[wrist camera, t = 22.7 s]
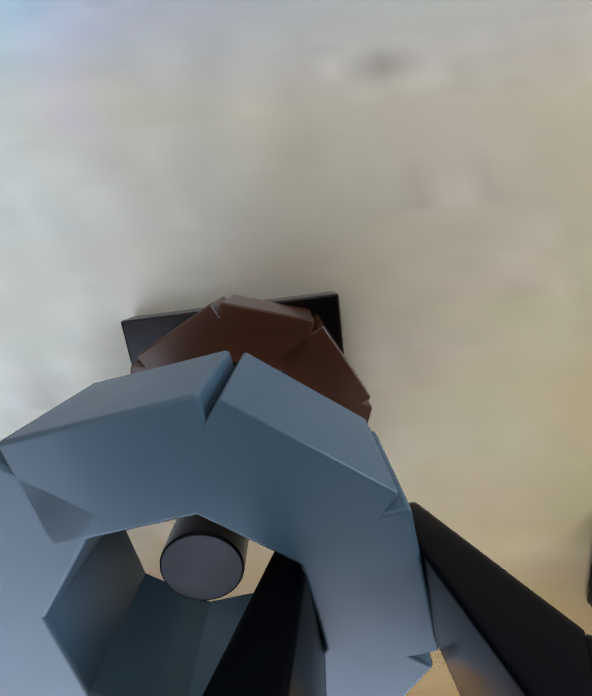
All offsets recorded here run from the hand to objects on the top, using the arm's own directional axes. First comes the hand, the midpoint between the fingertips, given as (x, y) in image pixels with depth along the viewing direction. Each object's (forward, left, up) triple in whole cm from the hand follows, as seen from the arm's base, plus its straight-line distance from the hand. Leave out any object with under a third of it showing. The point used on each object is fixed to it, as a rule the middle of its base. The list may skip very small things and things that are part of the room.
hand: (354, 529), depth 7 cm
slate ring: (0, +3, -1) cm, 3 cm away
